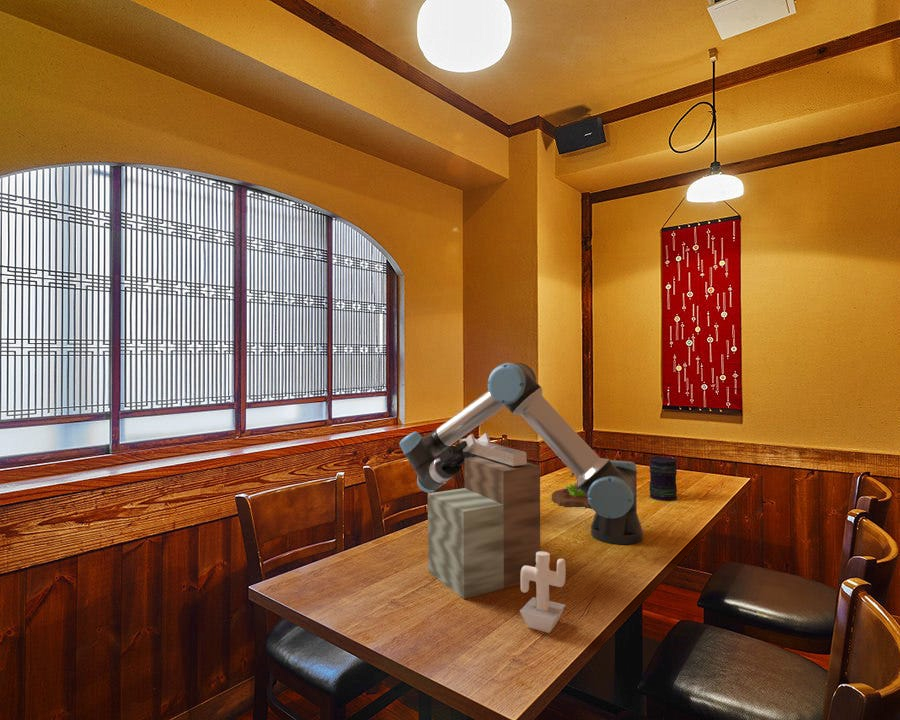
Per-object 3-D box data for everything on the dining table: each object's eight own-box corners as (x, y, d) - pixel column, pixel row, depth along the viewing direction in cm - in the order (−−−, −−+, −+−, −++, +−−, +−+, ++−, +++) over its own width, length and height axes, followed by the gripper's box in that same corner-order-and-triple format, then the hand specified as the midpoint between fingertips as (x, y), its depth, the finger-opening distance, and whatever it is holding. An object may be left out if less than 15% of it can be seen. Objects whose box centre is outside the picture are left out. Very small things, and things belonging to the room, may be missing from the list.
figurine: (527, 612, 114) (527, 543, 114) (570, 623, 109) (570, 551, 109) (514, 627, 108) (514, 554, 108) (559, 640, 103) (559, 563, 103)
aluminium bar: (459, 449, 151) (459, 439, 151) (471, 448, 153) (471, 438, 153) (513, 466, 129) (513, 453, 128) (526, 464, 130) (526, 452, 130)
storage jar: (681, 501, 200) (681, 461, 199) (654, 501, 200) (654, 461, 200) (670, 494, 209) (670, 456, 209) (645, 494, 210) (645, 456, 210)
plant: (547, 494, 211) (547, 466, 211) (597, 495, 210) (597, 466, 210) (556, 509, 191) (556, 478, 191) (611, 509, 190) (611, 478, 190)
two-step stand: (428, 571, 136) (427, 462, 136) (499, 555, 147) (498, 454, 146) (463, 599, 120) (463, 476, 120) (540, 578, 131) (540, 466, 131)
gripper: (472, 475, 166) (510, 447, 148) (423, 482, 157) (457, 453, 139) (466, 452, 169) (502, 423, 151) (417, 458, 160) (450, 427, 143)
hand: (480, 437), depth 145 cm, fingers closed on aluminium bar, 4 cm apart
